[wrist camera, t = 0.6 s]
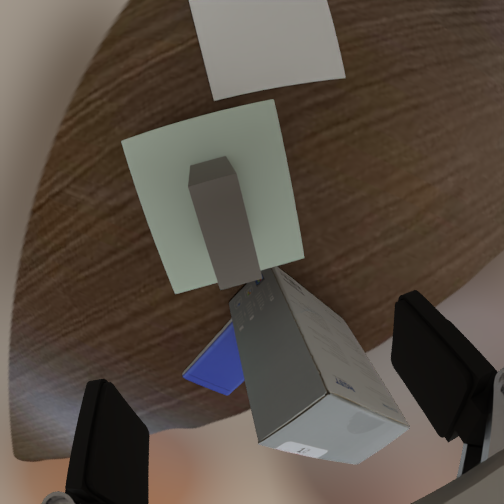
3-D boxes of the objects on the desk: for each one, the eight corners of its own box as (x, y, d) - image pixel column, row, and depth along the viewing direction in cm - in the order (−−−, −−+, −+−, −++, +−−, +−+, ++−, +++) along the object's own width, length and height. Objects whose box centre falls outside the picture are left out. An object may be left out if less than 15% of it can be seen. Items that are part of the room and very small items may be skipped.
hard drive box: (225, 302, 39) (253, 444, 21) (268, 258, 37) (330, 389, 20) (307, 353, 45) (357, 467, 28) (345, 318, 44) (414, 427, 26)
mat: (318, -19, 24) (320, -21, 24) (343, 78, 30) (345, 77, 29) (187, -3, 24) (187, -5, 23) (213, 101, 29) (214, 100, 28)
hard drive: (234, 320, 39) (182, 378, 42) (282, 345, 42) (228, 396, 45) (233, 313, 41) (182, 370, 44) (280, 338, 44) (227, 389, 47)
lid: (268, 99, 24) (302, 96, 16) (297, 248, 31) (333, 300, 23) (126, 138, 24) (93, 154, 16) (176, 282, 30) (172, 345, 22)
